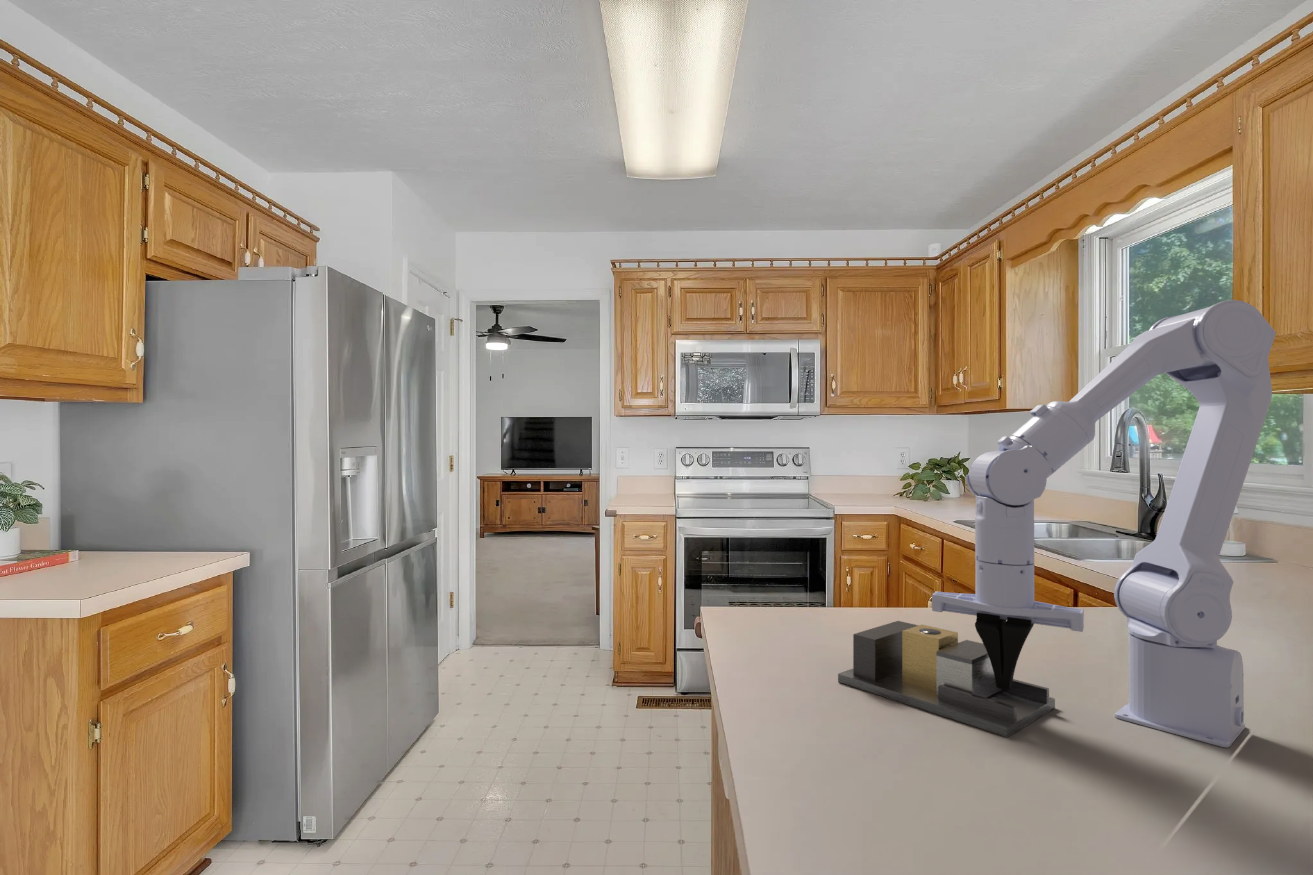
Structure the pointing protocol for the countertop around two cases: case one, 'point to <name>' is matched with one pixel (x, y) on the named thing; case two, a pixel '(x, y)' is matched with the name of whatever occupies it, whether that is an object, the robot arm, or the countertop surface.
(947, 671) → the block
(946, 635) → the housing
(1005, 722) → the press bed
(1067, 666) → the countertop surface
